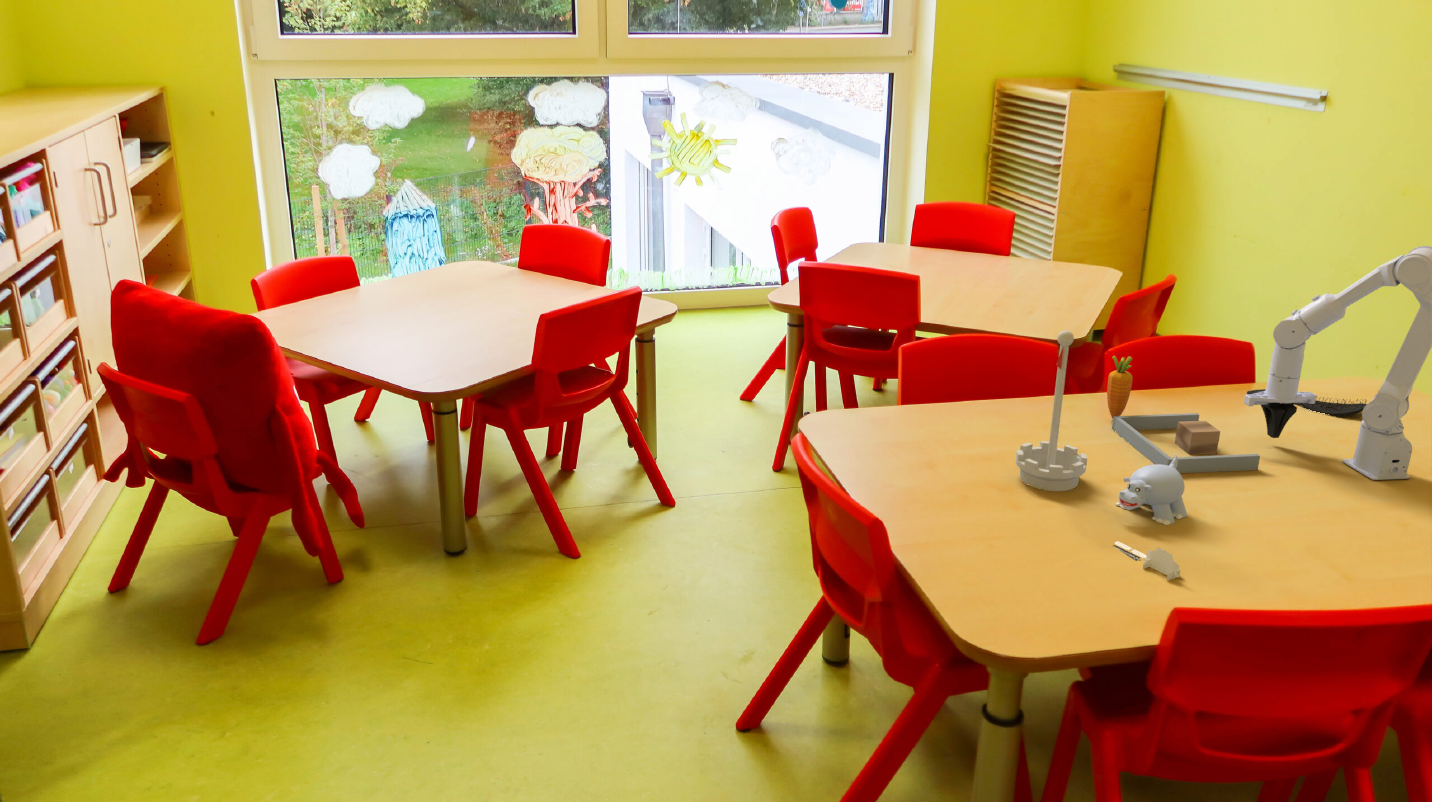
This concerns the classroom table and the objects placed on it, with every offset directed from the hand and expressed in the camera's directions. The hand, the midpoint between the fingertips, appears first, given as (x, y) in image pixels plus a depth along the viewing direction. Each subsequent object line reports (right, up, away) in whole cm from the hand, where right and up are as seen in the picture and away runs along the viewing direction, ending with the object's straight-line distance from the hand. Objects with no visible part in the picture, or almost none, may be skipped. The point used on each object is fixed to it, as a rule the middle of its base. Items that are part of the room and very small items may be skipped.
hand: (1273, 436), depth 230 cm
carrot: (-28, +3, +14) cm, 31 cm away
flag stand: (-52, -8, -16) cm, 55 cm away
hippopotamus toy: (-38, -13, -30) cm, 50 cm away
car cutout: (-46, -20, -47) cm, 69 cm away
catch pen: (-19, -2, -1) cm, 19 cm away
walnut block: (-17, -3, -1) cm, 17 cm away
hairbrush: (+19, +6, +24) cm, 31 cm away
